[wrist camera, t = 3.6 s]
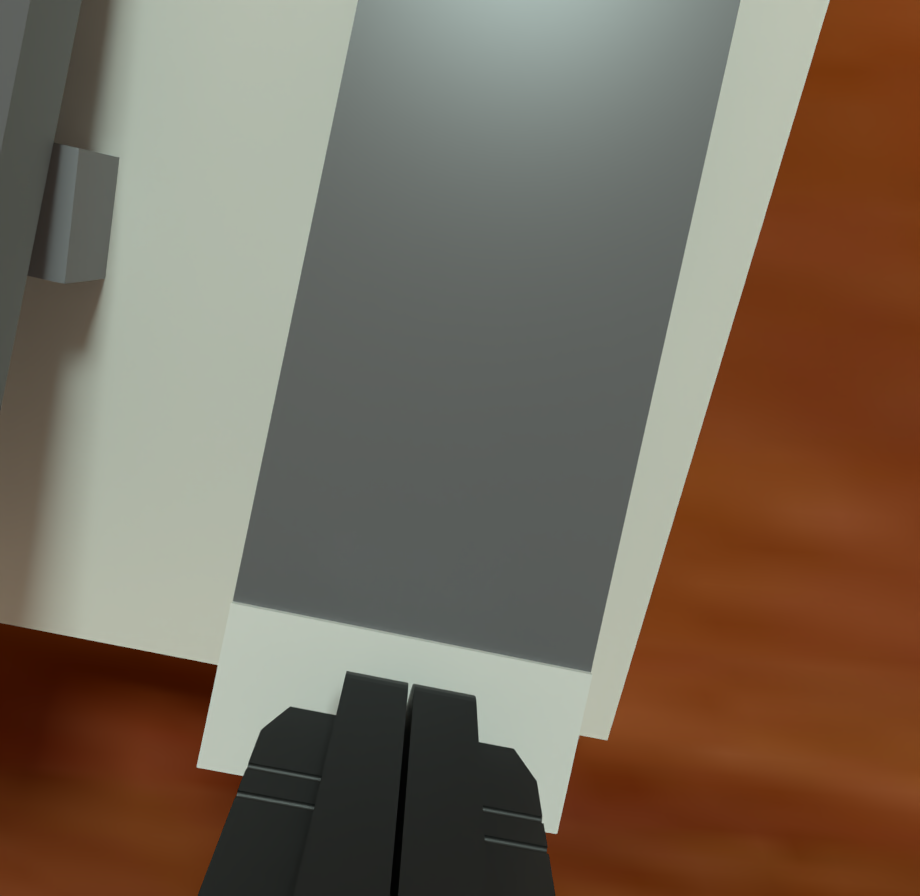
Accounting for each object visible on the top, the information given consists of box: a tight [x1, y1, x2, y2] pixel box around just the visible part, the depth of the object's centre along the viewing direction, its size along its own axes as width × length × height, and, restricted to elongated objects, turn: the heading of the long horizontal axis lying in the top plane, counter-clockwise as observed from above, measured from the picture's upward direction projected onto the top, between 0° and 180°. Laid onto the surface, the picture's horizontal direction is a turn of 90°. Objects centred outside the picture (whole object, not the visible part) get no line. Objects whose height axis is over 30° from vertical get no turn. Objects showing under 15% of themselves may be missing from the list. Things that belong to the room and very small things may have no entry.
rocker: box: [197, 0, 741, 834], centre depth 11 cm, size 12×4×1 cm, turn 167°
